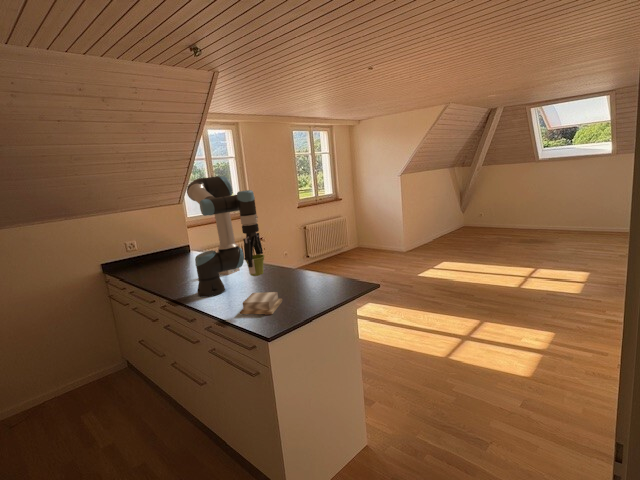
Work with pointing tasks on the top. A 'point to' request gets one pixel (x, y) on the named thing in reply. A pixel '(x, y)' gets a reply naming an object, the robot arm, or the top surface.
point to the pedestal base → (261, 303)
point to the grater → (229, 270)
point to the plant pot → (258, 264)
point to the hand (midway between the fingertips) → (256, 270)
